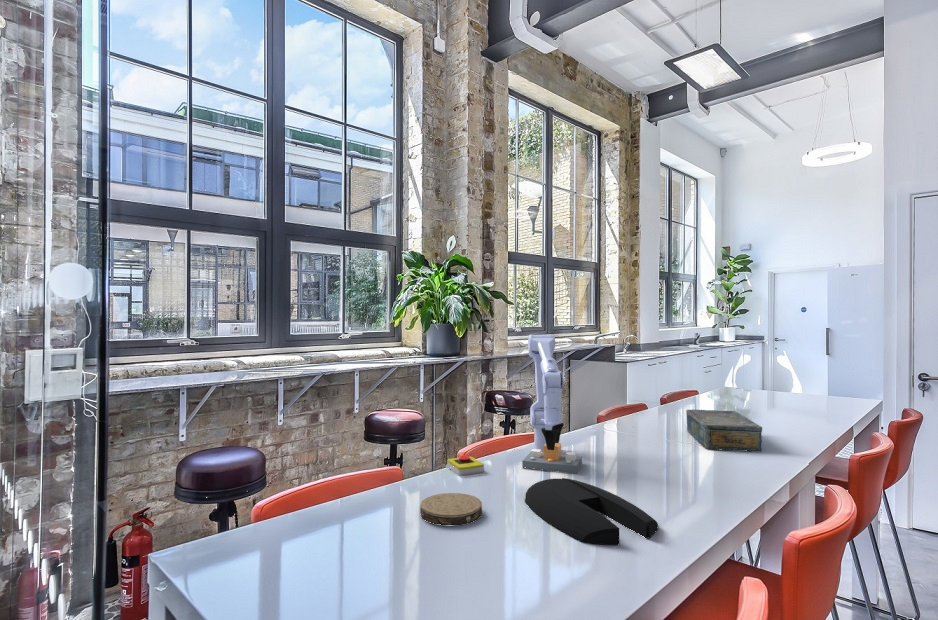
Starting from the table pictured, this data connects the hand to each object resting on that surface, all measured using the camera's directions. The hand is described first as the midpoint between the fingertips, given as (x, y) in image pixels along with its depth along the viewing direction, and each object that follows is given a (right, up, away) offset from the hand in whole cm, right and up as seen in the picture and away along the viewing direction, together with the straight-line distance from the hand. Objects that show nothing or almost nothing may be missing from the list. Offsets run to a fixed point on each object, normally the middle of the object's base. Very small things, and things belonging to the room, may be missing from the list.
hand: (553, 446), depth 178 cm
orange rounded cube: (0, -4, 0) cm, 4 cm away
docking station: (+1, -6, -42) cm, 42 cm away
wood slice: (-33, -7, -43) cm, 55 cm away
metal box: (+73, -7, +32) cm, 80 cm away
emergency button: (-30, -7, -5) cm, 31 cm away
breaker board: (0, -6, -1) cm, 6 cm away
